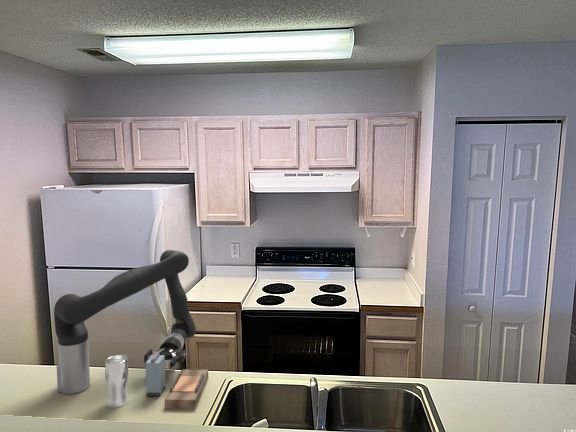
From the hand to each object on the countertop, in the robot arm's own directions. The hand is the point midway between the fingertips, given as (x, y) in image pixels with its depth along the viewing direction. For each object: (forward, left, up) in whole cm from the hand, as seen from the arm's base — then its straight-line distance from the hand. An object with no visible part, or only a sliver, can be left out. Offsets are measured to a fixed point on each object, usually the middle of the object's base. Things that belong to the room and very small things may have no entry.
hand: (158, 365), depth 137 cm
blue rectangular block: (0, -4, -8) cm, 9 cm away
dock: (+11, -3, -8) cm, 14 cm away
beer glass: (-11, -10, -8) cm, 17 cm away
